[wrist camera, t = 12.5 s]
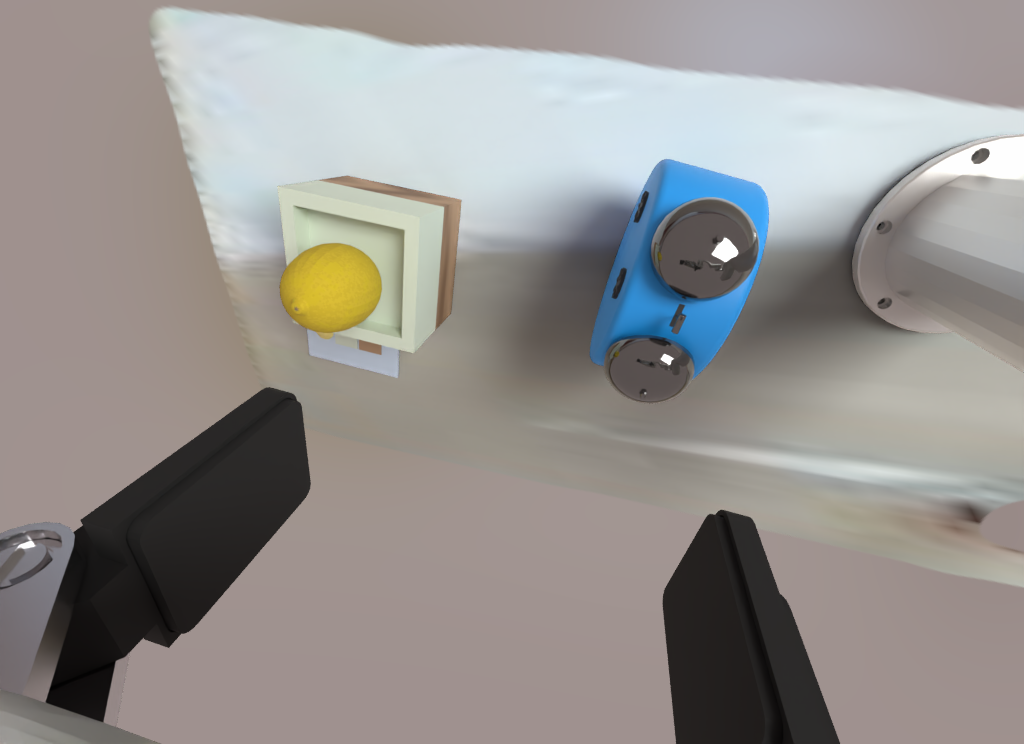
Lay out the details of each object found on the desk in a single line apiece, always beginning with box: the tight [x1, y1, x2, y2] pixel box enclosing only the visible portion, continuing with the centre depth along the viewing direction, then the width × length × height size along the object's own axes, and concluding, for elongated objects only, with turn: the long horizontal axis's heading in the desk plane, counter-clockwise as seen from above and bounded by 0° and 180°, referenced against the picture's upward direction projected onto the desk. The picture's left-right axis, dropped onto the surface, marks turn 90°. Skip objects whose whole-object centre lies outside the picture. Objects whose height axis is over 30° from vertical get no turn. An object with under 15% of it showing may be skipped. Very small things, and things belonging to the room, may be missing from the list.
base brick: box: [320, 176, 461, 330], centre depth 36 cm, size 10×10×4 cm
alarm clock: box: [590, 159, 769, 404], centre depth 27 cm, size 13×6×15 cm, turn 166°
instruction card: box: [307, 329, 399, 378], centre depth 43 cm, size 10×7×1 cm
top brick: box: [277, 180, 444, 353], centre depth 32 cm, size 10×10×4 cm
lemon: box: [280, 243, 382, 333], centre depth 28 cm, size 6×6×8 cm
